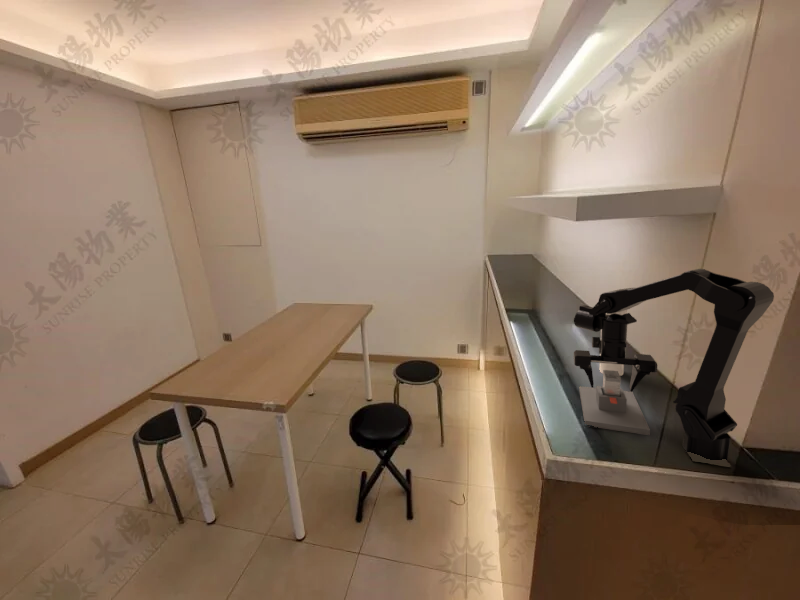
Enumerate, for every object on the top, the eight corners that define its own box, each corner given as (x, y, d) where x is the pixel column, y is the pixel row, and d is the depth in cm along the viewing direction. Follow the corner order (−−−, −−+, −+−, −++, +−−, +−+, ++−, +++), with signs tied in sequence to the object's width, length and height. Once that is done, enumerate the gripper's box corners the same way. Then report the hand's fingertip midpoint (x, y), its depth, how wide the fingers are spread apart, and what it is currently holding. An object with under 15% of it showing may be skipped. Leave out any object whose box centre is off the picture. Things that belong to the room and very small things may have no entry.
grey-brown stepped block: (616, 401, 93) (617, 371, 91) (619, 410, 89) (621, 378, 87) (601, 399, 95) (602, 369, 93) (604, 408, 90) (605, 377, 89)
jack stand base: (632, 396, 98) (633, 379, 97) (649, 435, 80) (651, 415, 79) (579, 390, 104) (579, 374, 103) (585, 425, 86) (585, 406, 85)
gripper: (648, 328, 91) (644, 380, 94) (573, 325, 99) (571, 373, 102) (660, 342, 81) (655, 398, 84) (575, 337, 89) (574, 390, 92)
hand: (611, 389), depth 91 cm, fingers open, 9 cm apart
